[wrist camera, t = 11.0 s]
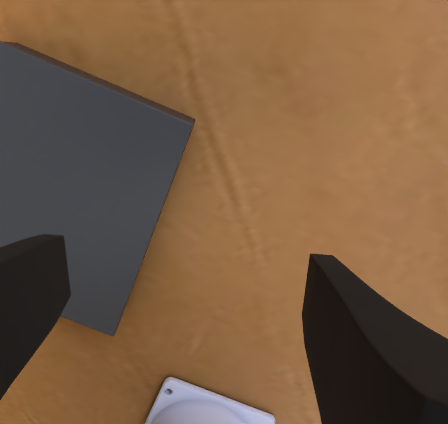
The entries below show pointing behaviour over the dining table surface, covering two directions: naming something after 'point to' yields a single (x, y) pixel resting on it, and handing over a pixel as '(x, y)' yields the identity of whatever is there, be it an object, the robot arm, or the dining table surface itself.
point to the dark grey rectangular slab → (84, 174)
